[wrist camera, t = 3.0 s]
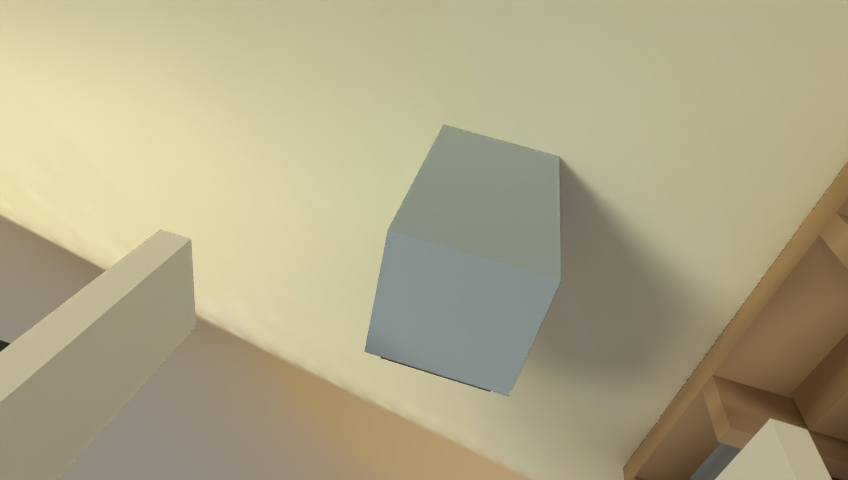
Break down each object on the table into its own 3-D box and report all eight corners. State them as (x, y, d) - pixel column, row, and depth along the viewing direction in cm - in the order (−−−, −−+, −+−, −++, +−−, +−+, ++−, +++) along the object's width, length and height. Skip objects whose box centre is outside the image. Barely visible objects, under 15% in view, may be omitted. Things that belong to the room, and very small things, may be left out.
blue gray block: (559, 156, 17) (560, 280, 11) (518, 264, 20) (502, 410, 14) (443, 124, 18) (387, 230, 12) (417, 235, 20) (361, 366, 14)
